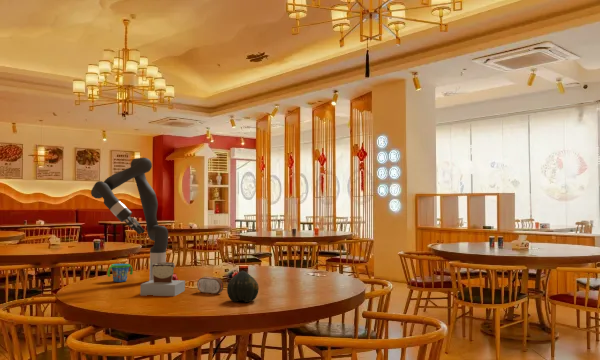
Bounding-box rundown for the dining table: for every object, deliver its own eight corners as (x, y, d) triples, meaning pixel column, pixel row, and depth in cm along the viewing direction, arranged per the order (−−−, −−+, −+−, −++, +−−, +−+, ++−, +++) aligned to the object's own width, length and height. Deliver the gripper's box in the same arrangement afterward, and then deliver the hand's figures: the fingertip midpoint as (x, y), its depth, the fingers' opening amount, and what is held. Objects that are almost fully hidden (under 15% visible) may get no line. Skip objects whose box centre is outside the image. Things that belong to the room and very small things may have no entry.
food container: (177, 281, 270) (177, 262, 271) (174, 282, 264) (174, 263, 264) (154, 281, 270) (154, 262, 271) (150, 282, 264) (151, 263, 265)
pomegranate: (156, 287, 284) (157, 270, 285) (167, 284, 293) (168, 268, 294) (171, 288, 280) (171, 271, 281) (182, 285, 290) (182, 269, 290)
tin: (223, 294, 264) (223, 277, 264) (220, 295, 261) (220, 278, 261) (199, 291, 270) (199, 275, 271) (196, 292, 267) (196, 276, 268)
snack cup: (128, 279, 314) (128, 262, 314) (136, 281, 306) (136, 264, 306) (103, 281, 303) (103, 264, 303) (111, 283, 295) (111, 266, 296)
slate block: (152, 291, 274) (152, 279, 275) (184, 291, 273) (184, 280, 273) (140, 296, 258) (140, 284, 259) (174, 297, 257) (175, 285, 257)
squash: (241, 294, 233) (254, 267, 242) (217, 292, 240) (230, 266, 250) (256, 311, 241) (268, 284, 250) (231, 308, 249) (244, 283, 258)
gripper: (123, 206, 270) (144, 228, 270) (129, 206, 284) (149, 227, 284) (112, 216, 269) (134, 238, 269) (119, 216, 283) (139, 236, 284)
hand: (142, 232), depth 277 cm, fingers open, 8 cm apart
